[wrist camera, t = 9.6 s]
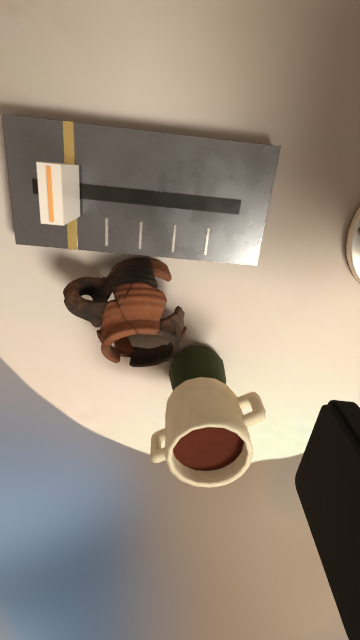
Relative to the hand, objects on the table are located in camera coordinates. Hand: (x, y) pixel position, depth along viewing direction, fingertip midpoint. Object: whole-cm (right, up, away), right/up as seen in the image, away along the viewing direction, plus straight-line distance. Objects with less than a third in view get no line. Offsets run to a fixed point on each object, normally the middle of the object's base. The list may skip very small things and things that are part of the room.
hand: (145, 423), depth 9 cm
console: (-2, +14, +21) cm, 26 cm away
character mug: (+3, -3, +29) cm, 30 cm away
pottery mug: (-4, +5, +26) cm, 26 cm away
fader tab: (-8, +14, +18) cm, 24 cm away
